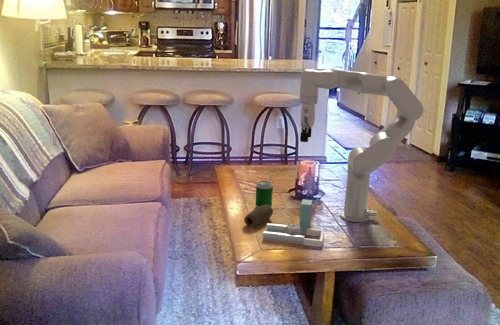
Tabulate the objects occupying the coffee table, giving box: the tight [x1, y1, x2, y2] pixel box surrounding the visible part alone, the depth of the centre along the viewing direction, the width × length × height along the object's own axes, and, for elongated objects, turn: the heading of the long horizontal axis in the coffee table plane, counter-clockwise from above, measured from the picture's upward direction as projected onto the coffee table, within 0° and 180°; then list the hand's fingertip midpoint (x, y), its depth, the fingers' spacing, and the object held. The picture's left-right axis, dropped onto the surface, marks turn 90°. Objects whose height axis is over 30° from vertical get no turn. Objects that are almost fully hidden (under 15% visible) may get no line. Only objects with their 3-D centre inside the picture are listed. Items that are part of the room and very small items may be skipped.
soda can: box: [255, 180, 274, 209], centre depth 230 cm, size 8×8×12 cm
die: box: [284, 223, 301, 235], centre depth 200 cm, size 5×5×5 cm
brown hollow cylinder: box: [243, 204, 274, 228], centre depth 214 cm, size 15×7×7 cm, turn 151°
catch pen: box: [303, 227, 325, 248], centre depth 199 cm, size 7×11×2 cm, turn 168°
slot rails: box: [262, 222, 307, 246], centre depth 201 cm, size 16×10×3 cm, turn 78°
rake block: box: [299, 198, 313, 229], centre depth 208 cm, size 4×6×12 cm, turn 168°
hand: (305, 139), depth 216 cm, fingers open, 9 cm apart
